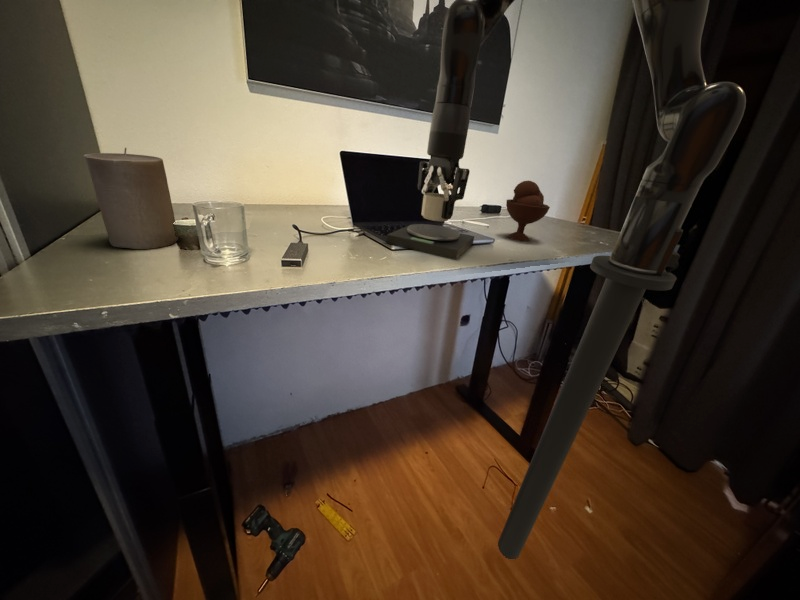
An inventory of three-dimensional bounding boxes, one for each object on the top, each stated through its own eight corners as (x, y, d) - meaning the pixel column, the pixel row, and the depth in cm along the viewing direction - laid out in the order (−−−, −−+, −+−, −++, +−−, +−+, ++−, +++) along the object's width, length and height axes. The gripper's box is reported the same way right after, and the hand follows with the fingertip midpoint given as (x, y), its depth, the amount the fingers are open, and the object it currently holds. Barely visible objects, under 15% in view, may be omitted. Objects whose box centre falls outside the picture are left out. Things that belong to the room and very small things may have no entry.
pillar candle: (170, 231, 63) (153, 147, 57) (185, 245, 57) (168, 152, 51) (105, 237, 57) (77, 142, 50) (114, 253, 51) (84, 147, 44)
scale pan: (465, 233, 77) (465, 231, 77) (450, 244, 67) (451, 241, 67) (418, 223, 81) (419, 221, 81) (398, 232, 71) (398, 230, 71)
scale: (472, 244, 79) (474, 234, 78) (455, 259, 66) (458, 248, 65) (412, 231, 84) (413, 222, 83) (386, 243, 72) (387, 233, 71)
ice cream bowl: (536, 246, 83) (554, 185, 76) (493, 237, 88) (507, 178, 81) (542, 239, 91) (558, 183, 85) (503, 231, 96) (516, 177, 90)
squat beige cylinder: (453, 219, 74) (457, 196, 72) (444, 223, 69) (448, 199, 67) (426, 213, 76) (430, 191, 74) (416, 217, 71) (419, 194, 69)
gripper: (487, 135, 62) (470, 222, 69) (440, 132, 72) (429, 208, 80) (458, 130, 58) (442, 223, 65) (413, 128, 68) (404, 208, 76)
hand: (435, 214), depth 72 cm, fingers closed on squat beige cylinder, 6 cm apart
